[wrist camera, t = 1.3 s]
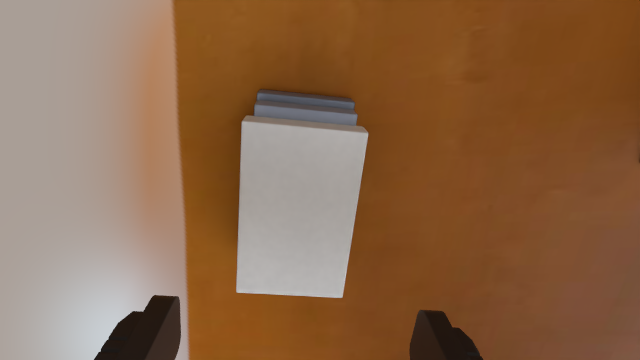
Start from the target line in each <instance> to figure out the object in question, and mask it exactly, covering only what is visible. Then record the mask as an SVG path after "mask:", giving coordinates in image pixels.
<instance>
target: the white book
mask: <svg viewBox="0 0 640 360" xmlns="http://www.w3.org/2000/svg"><path fill="white" fill-rule="evenodd" d="M367 140H368V132H367V131H366V130H365V128H364V127H362V126H352V125H341V124H331V123H321V122H310V121H300V120H290V119H279V118H269V117H259V116H248V115H247V116H245V118H244V119H243V121H242V128H241V159H240V190H239V222H238V253H237V284H236V292H237V293H257V294H277V295H296V296H316V297H335V298H342V297H343V290H344V284H345V278H346V272H347V265H348V259H349V253H350V246H351V240H352V234H353V228H354V221H355V215H356V209H357V203H358V196H359V190H360V184H361V177H362V171H363V165H364V159H365V152H366V146H367Z"/></svg>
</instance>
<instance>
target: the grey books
mask: <svg viewBox="0 0 640 360" xmlns="http://www.w3.org/2000/svg"><path fill="white" fill-rule="evenodd" d="M354 106H355V102H354V101H353V100H352V99H350V98H342V97H332V96H322V95H313V94H303V93H294V92H284V91H274V90H265V89H260V90H259V91H258V93H257V102H256V103H255V105H254V116H259V117H269V118H279V119H290V120H300V121H310V122H321V123H331V124H341V125H352V126H356V122H357V114H356V113H355V111H354Z"/></svg>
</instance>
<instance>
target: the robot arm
mask: <svg viewBox="0 0 640 360" xmlns="http://www.w3.org/2000/svg"><path fill="white" fill-rule="evenodd" d="M180 338H181V325H180V300H179V297H177V296H158V295H154V296H153V297H152V298H151V300H150V301H149V303H148V305H147V306H146V308H145V310H144V311H143V312H137V311H136V312H135V311H133V312H132V313H130V314H129V315H128V316H127V317H125V318H124V319H123V320H122V321H120V322H119V323H118V324H117V326H116V327H115V329H114V330H113V332H112V333H111V335H110V336H109V339H108V340H107V341H106V342H105V344H104V345H103V347H102V348H101V352H99V353H98V354H97V356H96V357H95V359H94V360H175V358H176V355H177V352H178V349H179V344H180ZM410 360H483V358H482V357H481V356H480V353H479V351H478V350H477V348H476V346H475V345H474V343H473V341H472V340H471V339H470V338H469V337H468V336H467V335H466V334H465V333H464V332H463V331H462V330H461V329H460V328H453V327H452V326H451V324H450V322H449V320H448V318H447V317H446V315H445V313H444V312H443V311H432V310H420V311H419V312H418V315H417V319H416V323H415V327H414V331H413V335H412V339H411V343H410Z"/></svg>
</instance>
